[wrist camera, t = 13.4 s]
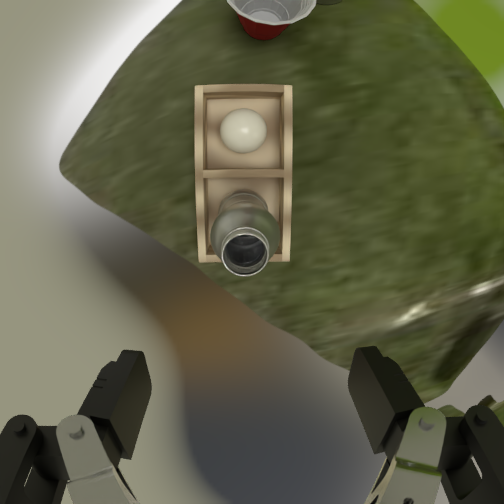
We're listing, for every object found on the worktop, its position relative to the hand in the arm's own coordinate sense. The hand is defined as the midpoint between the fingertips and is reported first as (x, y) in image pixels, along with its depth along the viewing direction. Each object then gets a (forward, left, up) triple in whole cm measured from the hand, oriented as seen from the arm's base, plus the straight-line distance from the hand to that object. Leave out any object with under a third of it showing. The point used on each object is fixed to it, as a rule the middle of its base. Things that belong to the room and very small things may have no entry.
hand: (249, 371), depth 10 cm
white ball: (-11, 0, -33) cm, 35 cm away
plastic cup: (-28, +3, -34) cm, 45 cm away
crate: (-5, 0, -34) cm, 34 cm away
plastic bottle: (0, 0, -33) cm, 33 cm away
